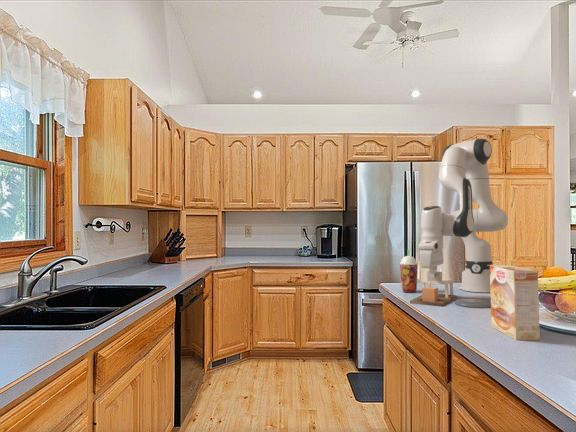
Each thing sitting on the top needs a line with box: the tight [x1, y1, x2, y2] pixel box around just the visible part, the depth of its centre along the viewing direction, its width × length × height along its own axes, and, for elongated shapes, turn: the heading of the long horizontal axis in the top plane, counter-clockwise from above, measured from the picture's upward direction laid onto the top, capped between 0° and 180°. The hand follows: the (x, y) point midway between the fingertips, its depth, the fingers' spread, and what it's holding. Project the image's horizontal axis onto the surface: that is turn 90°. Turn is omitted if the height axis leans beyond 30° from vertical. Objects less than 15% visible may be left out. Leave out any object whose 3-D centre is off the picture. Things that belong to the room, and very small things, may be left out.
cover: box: [421, 270, 454, 298], centre depth 179 cm, size 9×11×11 cm
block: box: [421, 286, 439, 302], centre depth 170 cm, size 5×5×6 cm
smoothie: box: [399, 249, 419, 294], centre depth 196 cm, size 8×8×20 cm
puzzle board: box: [409, 293, 457, 307], centre depth 174 cm, size 22×13×1 cm, turn 144°
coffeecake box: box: [490, 264, 541, 341], centre depth 122 cm, size 15×7×20 cm, turn 178°
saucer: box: [454, 298, 491, 309], centre depth 164 cm, size 14×14×1 cm
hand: (433, 276), depth 174 cm, fingers closed
